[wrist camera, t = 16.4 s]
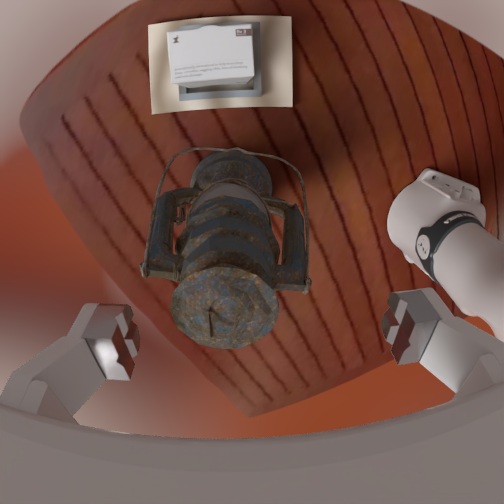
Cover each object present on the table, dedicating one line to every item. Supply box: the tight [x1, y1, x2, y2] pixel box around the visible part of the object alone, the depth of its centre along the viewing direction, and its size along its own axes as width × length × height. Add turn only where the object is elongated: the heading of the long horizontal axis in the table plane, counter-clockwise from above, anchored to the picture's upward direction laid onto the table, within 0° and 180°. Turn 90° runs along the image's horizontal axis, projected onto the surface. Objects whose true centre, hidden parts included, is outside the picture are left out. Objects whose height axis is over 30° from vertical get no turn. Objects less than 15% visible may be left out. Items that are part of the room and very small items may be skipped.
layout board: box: [148, 16, 293, 114], centre depth 36 cm, size 20×14×4 cm
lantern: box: [140, 147, 312, 349], centre depth 34 cm, size 19×14×30 cm
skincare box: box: [167, 24, 254, 88], centre depth 30 cm, size 8×6×15 cm
